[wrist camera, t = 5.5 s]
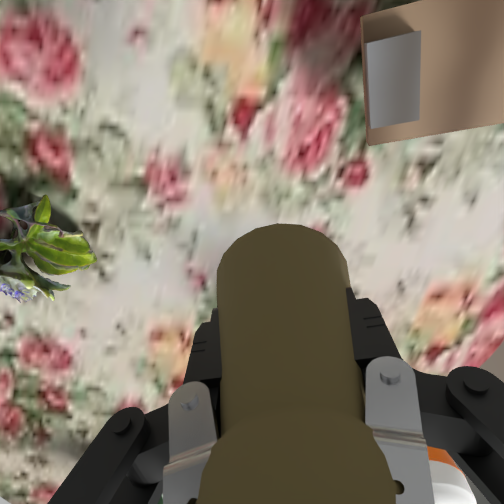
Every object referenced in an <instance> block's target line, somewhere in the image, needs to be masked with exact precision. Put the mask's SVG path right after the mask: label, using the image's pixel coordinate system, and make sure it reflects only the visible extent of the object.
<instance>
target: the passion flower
mask: <svg viewBox="0 0 504 504" xmlns="http://www.w3.org/2000/svg"><path fill="white" fill-rule="evenodd" d="M36 206H37V208H36V210H35V211H34V214H33V211H32V210H33V208H34V207H36ZM32 214H33V215H32ZM0 216H2V217H5V218H7V219H9V220H11V221H12V222H13V230H12V234H11V237H10V240H7V239H0V291H3V292H4V293H5V294H6V295H7V294H8V295H9V296H12V297H13V298H16V299H17V300H18V301H19V302H20V298H21V299H23V300H24V301H26V302H27V300H30V299H31V300H32V299H33V296H37V295H36V293H37V291H38V292H41V293H42V294H43V295H44V296H46V298H48V297H50V298H51V299H52V301H54V299H55V297H54V293H53V291H52V290H57V291H63V290H67V289H69V288H70V285H64V284H59V283H58V282H55V281H51V280H50V279H48V278H43V277H42V276H40V275H39V274H38V273H37V272H35V271H33V270H32V269H30V268H29V267H28V266H27V264H26V263H25V261H24V260H23V258H22V257H23V256H22V254H21V253H22V252H26V254H27V256H30V257H32V259H34V262H35V265H37V267H38V268H39V269H40V271H41V272H42V273H46V274H48V275H52V276H53V275H61V274H67V273H71V272H73V271H76V270H77V269H79V270H81V271H83V270H86V269H88V268H89V266H90V264H93V263H95V262H96V261H97V258H96V255H95V254H94V252H93V251H91V249H90V246H89V244H88V242H87V241H86V240H85V239H84V238H83V237H81V236H83V232H82V231H81V230H79V231H76V232H67V231H63V230H61V229H60V228H59V227H58V226H57V225H53V224H48V222H49V218H50V216H51V205H50V201H49V198H48V196H47V195H44V196H43V197H42V199H41V201H38V202H35V203H31V204H28V205H26V206H22V207H18V208H6V209H4V210H1V211H0ZM20 220H22V221H25V222H26V223H27V225H28V229H26V230H24V229H22V227H21V225H20V223H19V222H20ZM44 226H48V227H52V228H57V229H59V230H52V229H44ZM16 229H17V230H18V236H17V237H16V238H15V239H12V238H13V235H14V233H15V231H16ZM20 303H21V302H20Z"/></svg>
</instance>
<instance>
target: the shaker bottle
mask: <svg viewBox="0 0 504 504" xmlns="http://www.w3.org/2000/svg"><path fill="white" fill-rule="evenodd" d="M427 450H428V457H429V465H430V472H431V479H432V487H433V494H434V501H435V504H477V503H476V499H475V497H474V495H473V493H472V491H471V489H470V486H469V485H468V482H467V480H466V478H465V475H464V474H463V472H462V471H461V470H460V469H458V468H457V466H456V465H455V463H454V461H453V459H452V457H451V456H450V455H449V454H448V453H447V451H446V450H443V449H438V448H434V447H429V446H427Z"/></svg>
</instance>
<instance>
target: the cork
mask: <svg viewBox="0 0 504 504" xmlns="http://www.w3.org/2000/svg"><path fill="white" fill-rule="evenodd" d="M347 287H351V286H350V280H349V274H348V268H347V261H346V259H345V258H344V256H343V254H342V253H341V251H340V249H339V248H338V246H337V245H336V244H335V243H334V242H332V241H331V240H330V239H329V238H327V237H326V236H325V235H324V234H322V233H321V232H319V231H316V230H313V229H311V228H308V227H305V226H302V225H296V224H278V223H277V224H273V225H269V226H264V227H260V228H256V229H254V230H252V231H250V232H249V233H247V234H245V235H243V236H242V237H240V238H238V239H237V240H236V241H235V242H234V243H233V244H232V245H231V246H230V247H229V249H228V250H227V251H226V252H225V253H224V254H223V257H222V259H221V262H220V264H219V267H218V269H217V308H218V314H219V330H220V345H221V361H222V379H221V381H220V420H221V438H220V439H219V440H218V441H217V442H216V443H215V444H214V445H213V446H212V448H211V454H210V456H209V459H208V461H207V463H206V465H205V467H204V469H203V472H202V476H201V482H200V488H199V495H198V500H196V502H195V504H396V494H397V495H401V494H403V493H404V491H403V489H402V487H401V486H400V485H399V484H398V483H397V482H396V481H394V480H393V478H392V475H391V472H390V469H389V466H388V463H387V460H386V457H385V455H384V453H383V452H382V450H381V449H380V447H379V446H378V444H377V442H376V441H375V439H374V437H373V433H372V432H373V431H374V430H373V429H371V428H370V427H369V426H368V425H366V424H365V410H366V386H365V382H364V378H363V375H362V371H361V368H360V367H359V366H358V364H357V363H356V361H355V360H354V352H353V344H352V336H351V328H350V320H349V312H348V304H347V296H346V288H347Z"/></svg>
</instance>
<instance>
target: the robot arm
mask: <svg viewBox="0 0 504 504" xmlns="http://www.w3.org/2000/svg"><path fill="white" fill-rule="evenodd" d="M346 296H347V304H348V312H349V320H350V328H351V336H352V344H353V352H354V360H355V361H356V363H357V364H358V366H359V367H360V368H361V371H362V375H363V378H364V382H365V386H366V410H365V424H366V425H368V426H369V427H370V428H371V429H373V430H374V431H373V432H372V433H373V437H374V439H375V441H376V442H377V444H378V446H379V447H380V449H381V450H382V452H383V453H384V455H385V457H386V460H387V463H388V466H389V469H390V472H391V475H392V478H393V480H394V481H396V482H397V483H398V484H399V485H400V486H401V487H402V489H403V491H404V493H403V494H401V495H397V494H396V504H435V501H434V494H433V487H432V479H431V472H430V465H429V457H428V450H427V446H429V447H434V448H438V449H443V450H446V451H447V453H448V454H449V455H450V456H451V457H452V459H453V460H454V461H455V462H456V463H457V464H458V466H459V467H460V468H461V469H462V470H463V472H464V473H465V474H466V475H467V476H468V477H469V479H470V480H471V481H472V482H473V483H474V485H476V487H477V488H478V489H479V490H480V491H481V493H482V494H483V495H484V496H485V497H486V499H487V500H488V501H489V502H490V503H491V504H504V383H503V382H502V381H501V380H499V379H498V378H497V377H496V376H494V375H493V374H491V373H490V372H488V371H486V370H483V369H480V368H477V367H471V366H463V367H458V368H455V369H454V370H452V371H451V372H450V373H449V374H448V377H446V376H439V375H431V374H426V373H422V372H419V371H417V370H415V369H413V368H411V366H410V365H409V364H408V363H406V362H405V361H403V359H402V358H401V356H400V354H399V352H398V350H397V347H396V345H395V343H394V341H393V339H392V337H391V335H390V332H389V330H388V328H387V326H386V324H385V322H384V319H383V318H382V315H381V313H380V311H379V309H378V307H377V305H376V304H374V303H373V302H372V301H371V300H369V299H368V298H363V299H356V298H355V296H354V293H353V291H352V288H351V287H347V288H346ZM221 379H222V361H221V345H220V330H219V314H218V308H214V309H213V310H212V315H211V321H210V322H205V323H202V324H201V325H200V327H199V328H198V330H197V331H196V332H195V336H194V340H193V345H192V349H191V354H190V357H189V361H188V366H187V370H186V374H185V378H184V382H183V385H182V386H181V387H179V388H178V389H177V390H176V391H175V392H174V393H173V394H172V396H171V398H170V400H169V403H168V404H167V405H165V406H163V407H161V408H158V409H156V410H154V411H151V412H149V413H147V414H144V413H143V412H142V410H140V409H139V408H136V407H129V408H125V409H122V410H120V411H119V412H117V413H115V414H114V415H113V416H112V417H111V418H110V419H109V420H108V421H107V422H106V424H105V425H104V427H103V428H102V429H101V431H100V432H99V433H98V435H97V436H96V438H95V439H94V440H93V442H92V443H91V444H90V446H89V447H88V449H87V450H86V451H85V453H84V454H83V455H82V457H81V458H80V460H79V461H78V462H77V464H76V465H75V466H74V468H73V469H72V471H71V472H70V473H69V475H68V476H67V477H66V479H65V480H64V482H63V483H62V484H61V486H60V487H59V488H58V490H57V491H56V493H55V494H54V495H53V497H52V498H51V499H50V501H49V502H48V504H158V502H159V500H160V498H161V495H162V493H163V504H195V502H196V500H198V495H199V488H200V482H201V476H202V472H203V469H204V467H205V465H206V463H207V461H208V459H209V456H210V454H211V448H212V446H213V445H214V444H215V443H216V442H217V441H218V440H219V439H220V438H221V420H220V381H221Z"/></svg>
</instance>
